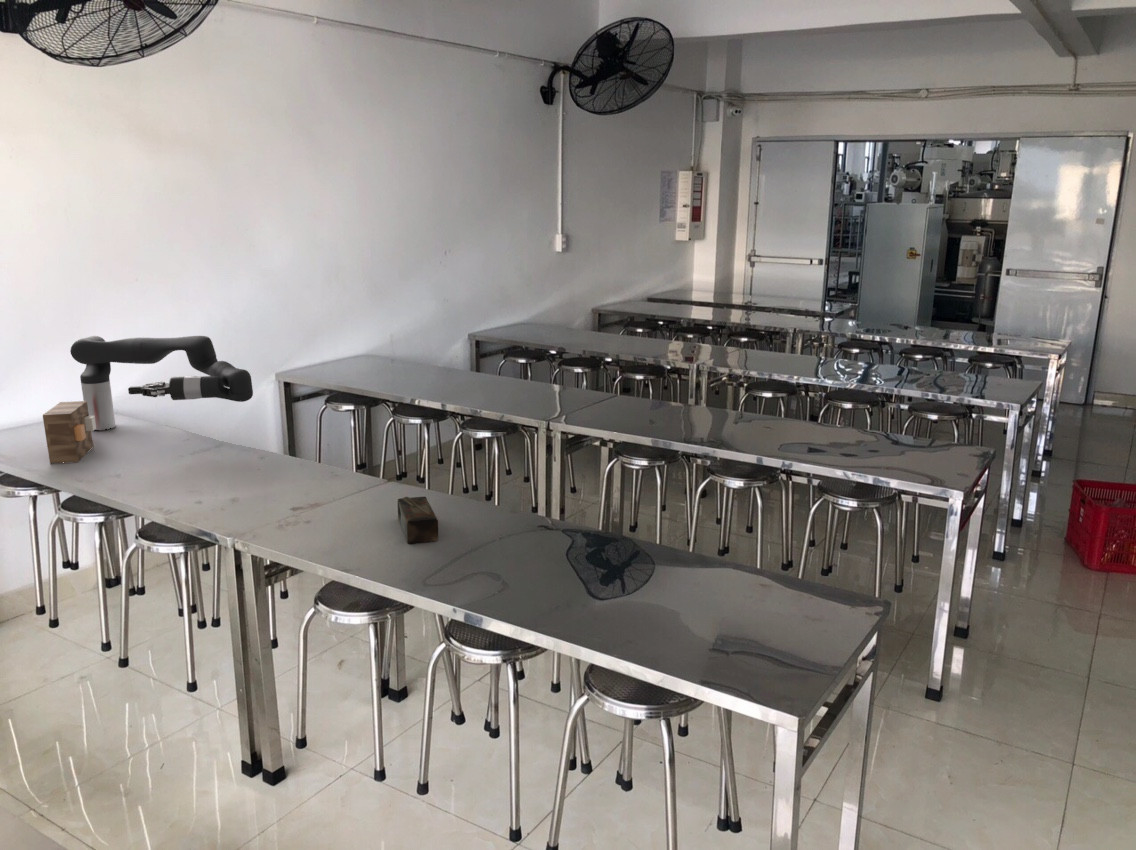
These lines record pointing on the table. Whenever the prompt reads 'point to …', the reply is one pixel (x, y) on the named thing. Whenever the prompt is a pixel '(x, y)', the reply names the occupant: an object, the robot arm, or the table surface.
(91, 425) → the white key
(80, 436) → the orange key
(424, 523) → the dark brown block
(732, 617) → the table surface
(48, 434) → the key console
